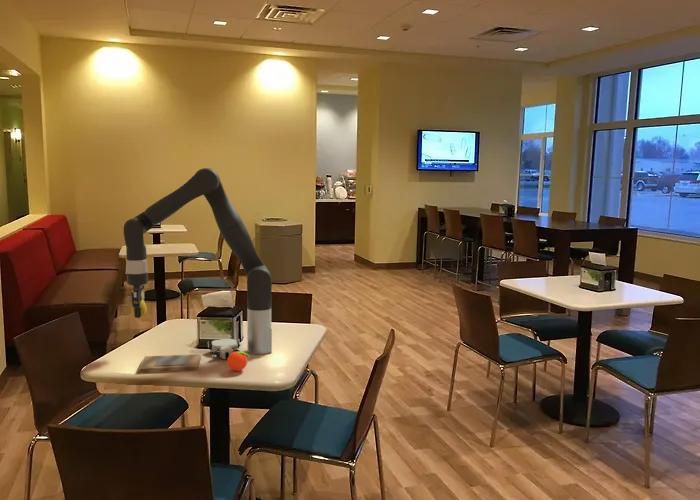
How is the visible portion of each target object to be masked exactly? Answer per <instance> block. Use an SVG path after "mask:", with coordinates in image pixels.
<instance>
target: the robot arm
mask: <svg viewBox="0 0 700 500" xmlns="http://www.w3.org/2000/svg"><path fill="white" fill-rule="evenodd" d="M201 196H203V197H204V198H205V199H206V201H207V203H208V204H209V205H210V208H211V211H212V213H213V217H214V219H215V223H216V224H217V227H218V230H219V233H220V234H221V236H222V238H223V239H224V241H225V243H226V244H227V246H228V247H229V249H230V250H231V251H232V253H233V254H234V255H235V257H237V259H238V260H239V262H240V264H241V266H242V268H243V270H244V273H245V275H246V302H247V303H246V304H247V305H246V307H247V311H246V313H247V320H246V322H247V329H246V330H247V346H246V347H247V353H249V354H252V355H265V354H269V353H273V351H272V350H273V344H272V343H273V339H272V338H273V337H272V336H273V333H272V330H273V329H272V301H273V300H272V299H273V298H272V297H273V296H272V292H273V291H272V290H273V289H272V284H273V283H272V282H273V281H272V274H271V272H270V270H269V269H268V267H267V266H266V264H265V263H264V262H263V261H262V259H261V257H260V256H259V254H258V252H257V250H256V248H255V245H254V243H253V240H252V237H251V235H250V233H249V231H248V229H247V226H245V223H244V221H243V220H242V217H240V215H239V213H238V211H237V209H236V208H235V207H234V205H233V204H232V202H231V201H230V199H229V197H228V196H227V193H226V191H225V188H224V186H223V183H222V181H221V178H220V176H219V174H218V172H217V171H215V170H214V169H212V168H210V167H204V168H203V167H202V168H200V169H198V170H197V171H196V172H195V173H194V175H193V176H191V177H190V178H189V179H188V181H186V182H184V184H183V185H182V186H180V187H178V188H177V189H175V190H174V191H172V192H171V193H169V194H167V195H165V196H164V197H162V198H160V199H159V200H158V201H156V202H154V203H153V204H151V205H150V206H148V207H147V208H146V209H145V210H144V211H142V212H141V213H139V214H138V215H136V216H134V217H133V218H130V219H128V220H126V222H125V223H124V225H123V238H124V242H125V246H126V251H125V252H126V265H125V266H126V269H125V270H126V271H125V272H126V283H127V285H129V286H133V287H132V289H131V293H130V294H131V305H132V306H133V307H134V315H135V317H134V318H136V319H138V318H140V317H141V302H142V300H143V301H144V302H145V285H147V284H148V283H149V271H148V270H149V269H148V260H147V247H146V246H147V245H145V244H144V243H145V241H144V239H145V238H144V234H146V233H147V232H148V231H150V230H151V229H153V228H154V227H155V226H156V225H158V224H161V223H162V222H164V221H165V220H167V219H168V218H169V217H171V216H172V215H174V214H175V213H177V212H178V211H179V210H181V209H182V208H183V207H184V206H186V205H187V204H189V203H190V202H192V201H194V200H195V199H198V198H199V197H201ZM135 302H138V304H135ZM141 318H142V317H141Z"/></svg>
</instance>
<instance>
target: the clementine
mask: <svg viewBox="0 0 700 500" xmlns="http://www.w3.org/2000/svg"><path fill="white" fill-rule="evenodd" d="M246 355H247V356H248V358H249V359H251V358H250V356H249V354H248V353H246V352H245V351H241V350H239V351H235V352H233V353H231V354H230V355H229V357H228V359H227V361H226V363H227V367H228V368H229V369H230V370H231V371H233V372H241V371H243V370H244V369H245V368H246V367H247V365H248V358H247V356H246Z"/></svg>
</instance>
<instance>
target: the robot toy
mask: <svg viewBox="0 0 700 500" xmlns="http://www.w3.org/2000/svg"><path fill="white" fill-rule="evenodd" d="M240 347H241V343H240V338H238V340H237V339H233V338H220V339H214V340H212V341H211V342H210V343H207V348H208V349H209V350H210V351H211V352H212V355H211V358H213V359H216V358H218V357H220V358H221V359H222V360H223V359H224V360H226V359H227V360H228V357H229V355H230V354H231V353H233V352H235V351H240V350H239V349H240Z"/></svg>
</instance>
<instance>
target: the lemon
mask: <svg viewBox="0 0 700 500" xmlns="http://www.w3.org/2000/svg"><path fill="white" fill-rule="evenodd" d="M135 304H138V302H135ZM130 307H131V308H130V311H131V312H130V313H131V314H132V316H133V317H134V318H135V315H134V307H133V306H132V304H131V306H130ZM147 311H148V310H147V304H146V302H145V300H144V301H143V300H142V302H141V317H140V318H137V320H141V318H143V317H144V316H145V315H146V314H147Z"/></svg>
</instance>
